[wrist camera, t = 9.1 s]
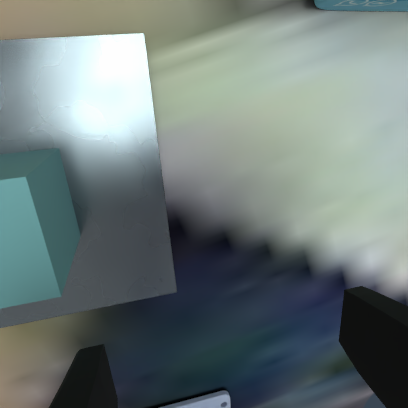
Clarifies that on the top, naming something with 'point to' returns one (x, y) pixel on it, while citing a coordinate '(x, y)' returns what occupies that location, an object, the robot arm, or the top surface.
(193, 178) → the top surface
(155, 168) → the base block
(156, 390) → the top surface
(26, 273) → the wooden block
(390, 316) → the robot arm
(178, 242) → the top surface
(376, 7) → the data package
